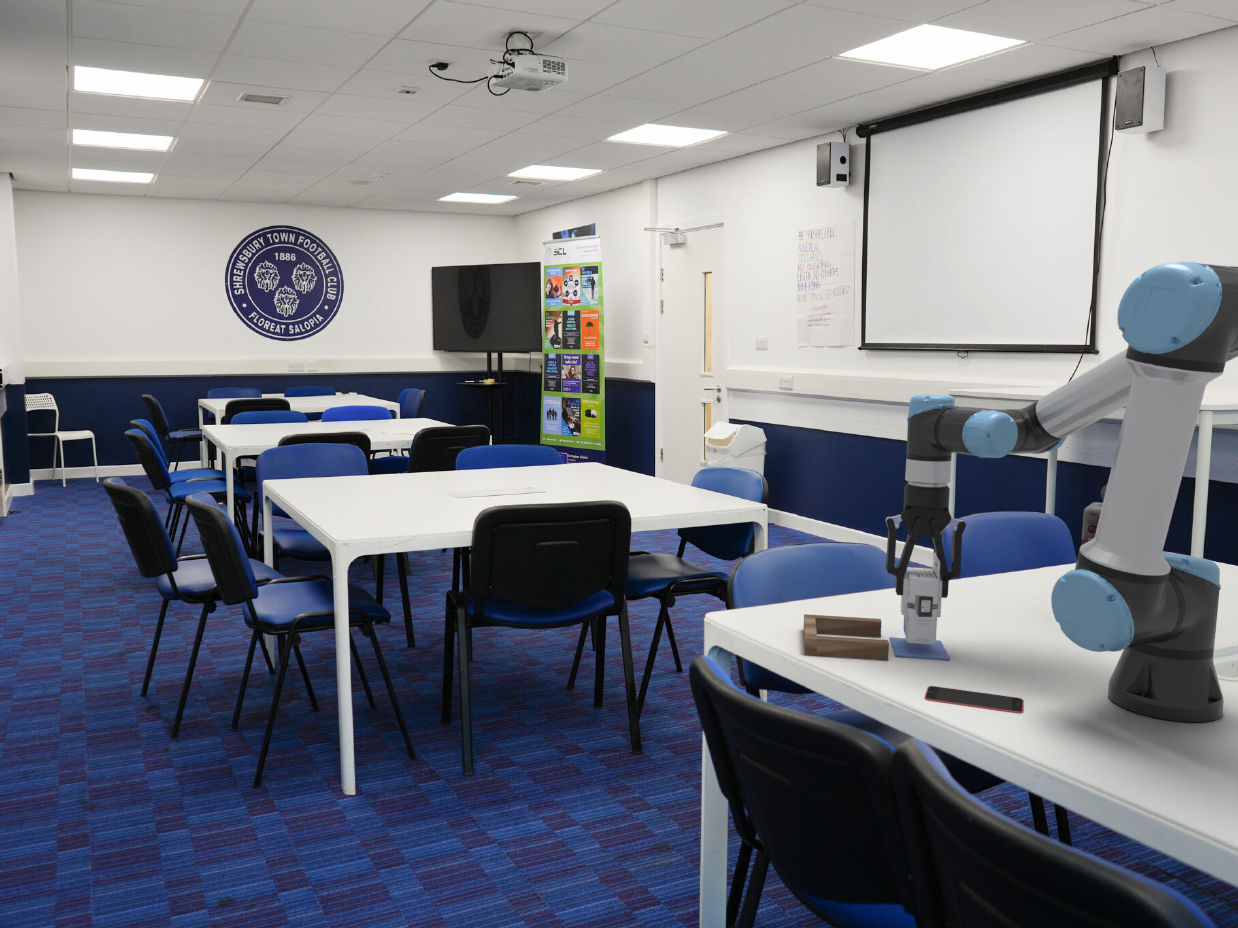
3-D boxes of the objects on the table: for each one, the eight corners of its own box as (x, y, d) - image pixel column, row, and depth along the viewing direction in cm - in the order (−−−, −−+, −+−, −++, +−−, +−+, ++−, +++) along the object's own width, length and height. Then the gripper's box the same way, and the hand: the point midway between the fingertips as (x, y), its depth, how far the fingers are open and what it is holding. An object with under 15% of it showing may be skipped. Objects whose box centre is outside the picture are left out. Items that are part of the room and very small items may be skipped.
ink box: (902, 629, 178) (906, 550, 176) (930, 631, 177) (935, 551, 175) (906, 643, 170) (911, 559, 168) (936, 645, 169) (941, 561, 167)
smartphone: (928, 684, 154) (1024, 697, 149) (927, 688, 154) (1023, 701, 149) (923, 698, 148) (1023, 712, 142) (923, 702, 148) (1023, 716, 142)
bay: (888, 660, 167) (889, 643, 166) (804, 654, 169) (805, 638, 169) (879, 634, 182) (880, 618, 182) (803, 629, 185) (804, 614, 184)
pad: (950, 660, 167) (950, 658, 167) (895, 656, 169) (895, 654, 169) (940, 641, 178) (940, 640, 178) (889, 638, 179) (889, 637, 179)
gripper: (977, 482, 172) (969, 611, 175) (872, 479, 175) (866, 605, 178) (985, 488, 165) (977, 623, 167) (875, 484, 168) (869, 616, 171)
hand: (920, 613), depth 173 cm, fingers closed on ink box, 5 cm apart
